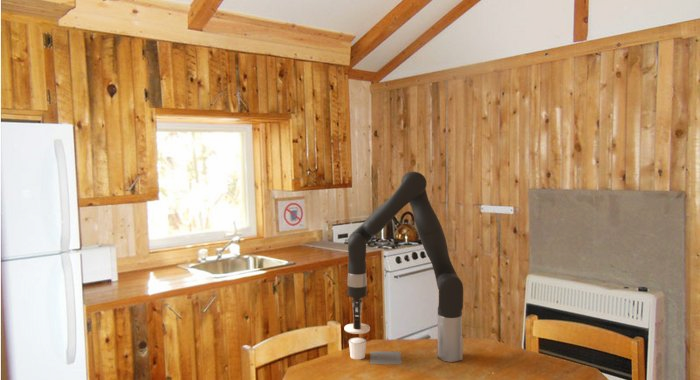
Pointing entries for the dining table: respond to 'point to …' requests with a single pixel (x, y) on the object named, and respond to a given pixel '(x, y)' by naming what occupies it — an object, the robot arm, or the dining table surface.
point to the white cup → (357, 348)
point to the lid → (363, 329)
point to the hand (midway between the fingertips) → (357, 327)
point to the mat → (385, 358)
